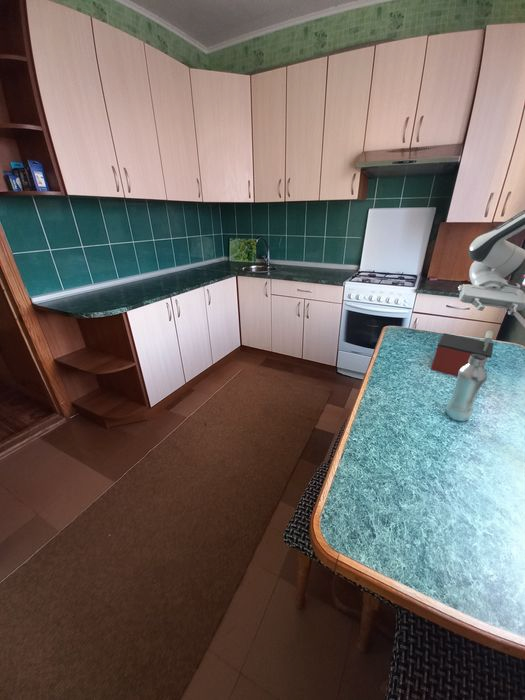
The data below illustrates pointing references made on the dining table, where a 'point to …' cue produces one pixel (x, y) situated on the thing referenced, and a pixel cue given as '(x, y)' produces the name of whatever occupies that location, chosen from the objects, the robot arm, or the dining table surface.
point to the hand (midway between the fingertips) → (496, 311)
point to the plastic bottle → (467, 388)
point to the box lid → (468, 344)
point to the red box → (450, 360)
